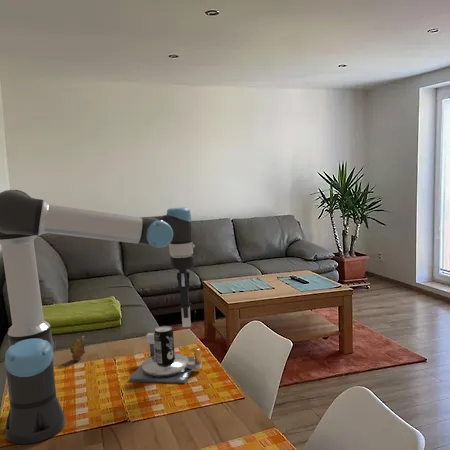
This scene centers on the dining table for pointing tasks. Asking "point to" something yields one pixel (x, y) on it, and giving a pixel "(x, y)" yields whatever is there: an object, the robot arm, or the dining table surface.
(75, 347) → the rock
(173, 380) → the turntable base
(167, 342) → the beverage can
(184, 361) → the turntable
